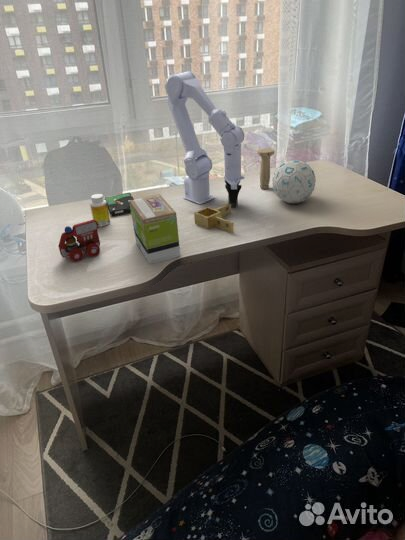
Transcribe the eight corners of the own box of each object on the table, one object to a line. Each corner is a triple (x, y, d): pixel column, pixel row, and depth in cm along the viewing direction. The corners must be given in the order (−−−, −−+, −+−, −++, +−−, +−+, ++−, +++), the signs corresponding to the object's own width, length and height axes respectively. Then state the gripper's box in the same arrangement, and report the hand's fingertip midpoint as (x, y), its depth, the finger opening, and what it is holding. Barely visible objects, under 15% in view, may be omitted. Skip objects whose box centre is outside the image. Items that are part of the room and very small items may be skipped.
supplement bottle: (112, 224, 141) (107, 196, 135) (96, 228, 139) (90, 200, 133) (108, 218, 145) (102, 191, 140) (92, 222, 143) (86, 194, 138)
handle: (274, 189, 162) (276, 151, 154) (259, 191, 160) (260, 153, 152) (269, 184, 166) (271, 147, 157) (254, 187, 164) (255, 149, 156)
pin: (225, 206, 150) (225, 188, 146) (232, 203, 152) (232, 185, 148) (233, 209, 147) (233, 190, 144) (240, 205, 149) (240, 187, 146)
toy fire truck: (59, 256, 124) (51, 225, 119) (98, 244, 129) (92, 214, 124) (65, 266, 119) (56, 234, 114) (106, 253, 124) (99, 222, 119)
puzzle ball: (310, 211, 142) (315, 169, 134) (268, 207, 147) (269, 166, 139) (315, 195, 154) (319, 155, 146) (275, 192, 159) (277, 153, 151)
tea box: (134, 243, 129) (128, 199, 121) (165, 236, 132) (160, 192, 124) (148, 265, 117) (142, 218, 109) (181, 257, 120) (177, 210, 112)
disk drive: (140, 212, 150) (130, 198, 161) (139, 205, 148) (129, 191, 160) (112, 218, 147) (104, 203, 158) (110, 211, 145) (103, 196, 157)
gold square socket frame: (194, 223, 139) (194, 212, 136) (223, 210, 147) (223, 199, 145) (226, 236, 130) (225, 225, 128) (255, 221, 138) (255, 210, 136)
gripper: (246, 170, 135) (245, 208, 142) (242, 157, 147) (242, 193, 155) (224, 171, 135) (225, 209, 142) (223, 158, 147) (223, 193, 155)
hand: (233, 201), depth 149 cm, fingers closed on pin, 4 cm apart
